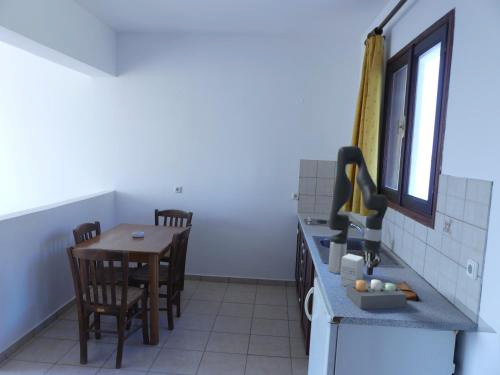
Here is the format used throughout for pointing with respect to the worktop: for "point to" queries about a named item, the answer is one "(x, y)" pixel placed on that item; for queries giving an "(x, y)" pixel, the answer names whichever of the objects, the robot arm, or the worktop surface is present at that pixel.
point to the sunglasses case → (407, 291)
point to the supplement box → (351, 269)
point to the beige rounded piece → (361, 285)
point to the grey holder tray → (376, 297)
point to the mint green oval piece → (390, 287)
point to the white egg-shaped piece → (376, 285)
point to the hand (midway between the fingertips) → (369, 274)
